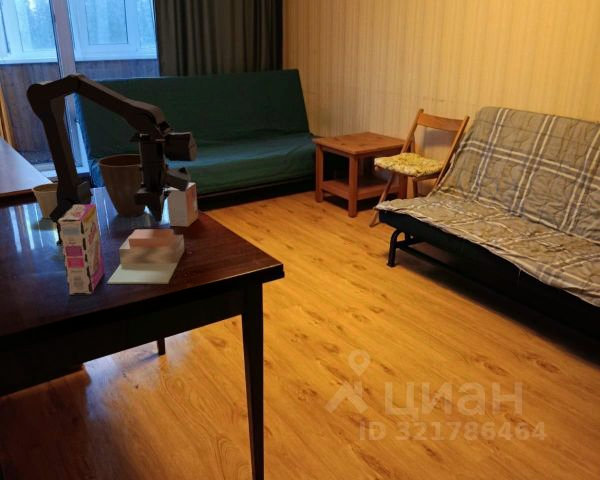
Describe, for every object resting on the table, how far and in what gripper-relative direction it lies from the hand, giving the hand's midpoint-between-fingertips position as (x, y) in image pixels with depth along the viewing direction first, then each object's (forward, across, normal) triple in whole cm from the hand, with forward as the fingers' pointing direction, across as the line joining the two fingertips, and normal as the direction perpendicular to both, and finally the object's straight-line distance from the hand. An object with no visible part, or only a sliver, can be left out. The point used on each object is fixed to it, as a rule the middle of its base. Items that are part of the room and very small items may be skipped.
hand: (159, 221), depth 140 cm
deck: (+6, -8, 0) cm, 10 cm away
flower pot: (+6, +23, +36) cm, 43 cm away
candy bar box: (+6, -23, +10) cm, 26 cm away
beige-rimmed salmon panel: (+2, -8, 0) cm, 9 cm away
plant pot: (+6, +25, +14) cm, 30 cm away
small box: (+6, +17, -3) cm, 18 cm away
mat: (+6, -18, 0) cm, 19 cm away
